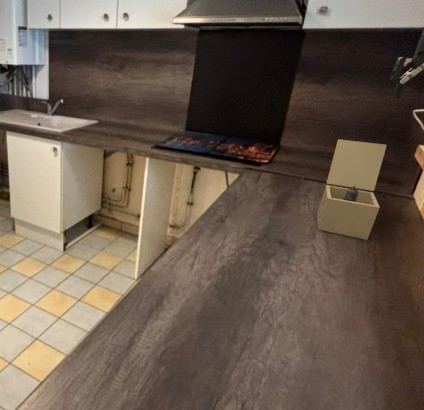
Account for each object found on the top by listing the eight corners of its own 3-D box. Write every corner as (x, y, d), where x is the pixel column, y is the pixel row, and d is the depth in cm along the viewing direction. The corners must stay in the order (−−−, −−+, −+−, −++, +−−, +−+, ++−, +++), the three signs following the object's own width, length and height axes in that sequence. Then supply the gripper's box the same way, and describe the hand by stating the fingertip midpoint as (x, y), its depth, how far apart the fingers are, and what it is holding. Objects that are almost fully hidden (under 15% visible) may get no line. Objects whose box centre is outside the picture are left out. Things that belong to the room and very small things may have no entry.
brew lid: (386, 144, 103) (382, 147, 107) (338, 139, 108) (336, 141, 112) (374, 190, 104) (370, 191, 108) (326, 183, 110) (324, 184, 114)
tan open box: (367, 240, 99) (379, 207, 95) (317, 229, 104) (327, 198, 100) (362, 222, 109) (373, 192, 105) (317, 213, 114) (326, 184, 110)
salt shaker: (332, 225, 104) (345, 187, 99) (327, 217, 109) (339, 180, 105) (356, 229, 102) (370, 190, 98) (350, 221, 107) (363, 183, 103)
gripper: (470, 33, 91) (443, 99, 97) (401, 33, 96) (380, 96, 103) (486, 32, 85) (457, 102, 91) (412, 32, 90) (388, 99, 96)
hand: (416, 99), depth 97 cm, fingers open, 8 cm apart
